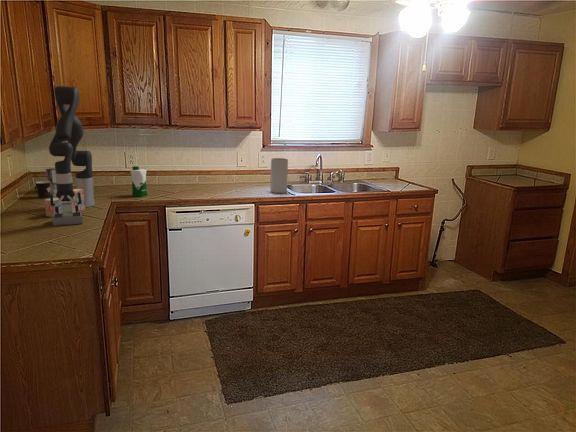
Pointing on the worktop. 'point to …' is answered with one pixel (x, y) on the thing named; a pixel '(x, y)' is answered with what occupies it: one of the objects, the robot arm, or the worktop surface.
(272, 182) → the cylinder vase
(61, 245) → the worktop surface
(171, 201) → the worktop surface
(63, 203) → the sage block
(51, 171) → the coffee box
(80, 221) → the bin
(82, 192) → the stack of blocks
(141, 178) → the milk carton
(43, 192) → the coffee mug
